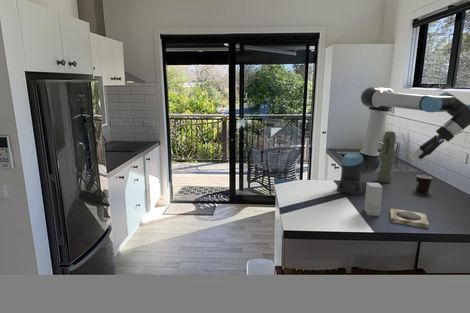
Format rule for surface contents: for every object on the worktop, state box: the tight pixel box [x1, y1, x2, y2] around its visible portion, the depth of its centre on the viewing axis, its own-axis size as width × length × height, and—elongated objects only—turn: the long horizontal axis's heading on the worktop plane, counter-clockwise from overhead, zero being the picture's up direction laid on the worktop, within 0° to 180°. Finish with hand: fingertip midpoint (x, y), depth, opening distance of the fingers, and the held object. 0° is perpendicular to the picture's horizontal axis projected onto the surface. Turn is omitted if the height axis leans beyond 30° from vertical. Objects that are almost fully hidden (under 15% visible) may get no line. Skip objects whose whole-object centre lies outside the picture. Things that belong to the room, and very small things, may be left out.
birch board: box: [389, 208, 430, 229], centre depth 157 cm, size 16×14×2 cm
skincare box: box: [363, 182, 384, 217], centre depth 163 cm, size 8×7×16 cm
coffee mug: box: [415, 174, 433, 195], centre depth 200 cm, size 12×9×10 cm
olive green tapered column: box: [377, 131, 397, 184], centre depth 218 cm, size 9×12×35 cm
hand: (411, 160), depth 161 cm, fingers open, 13 cm apart
